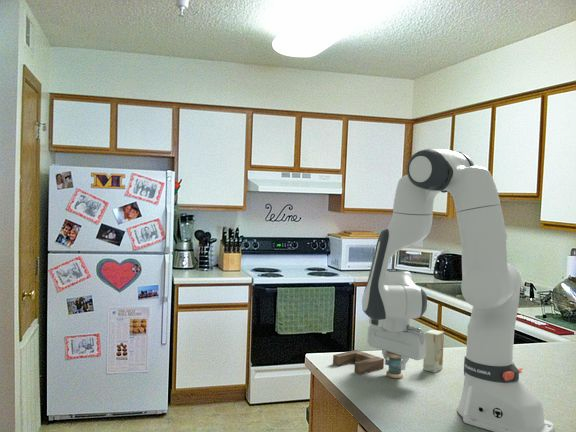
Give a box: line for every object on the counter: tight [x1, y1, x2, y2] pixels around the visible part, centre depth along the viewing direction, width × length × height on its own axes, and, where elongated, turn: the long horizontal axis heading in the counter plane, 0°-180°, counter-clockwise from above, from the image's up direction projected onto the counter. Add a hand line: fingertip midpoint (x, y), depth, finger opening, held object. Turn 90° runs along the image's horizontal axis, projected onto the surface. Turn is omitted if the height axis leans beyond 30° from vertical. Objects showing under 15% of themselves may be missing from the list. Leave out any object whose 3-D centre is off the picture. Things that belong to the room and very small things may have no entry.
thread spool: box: [385, 352, 404, 379], centre depth 162 cm, size 5×5×7 cm
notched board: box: [332, 349, 385, 375], centre depth 171 cm, size 12×11×3 cm
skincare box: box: [422, 329, 445, 373], centre depth 170 cm, size 6×4×12 cm
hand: (394, 367), depth 162 cm, fingers closed on thread spool, 4 cm apart
